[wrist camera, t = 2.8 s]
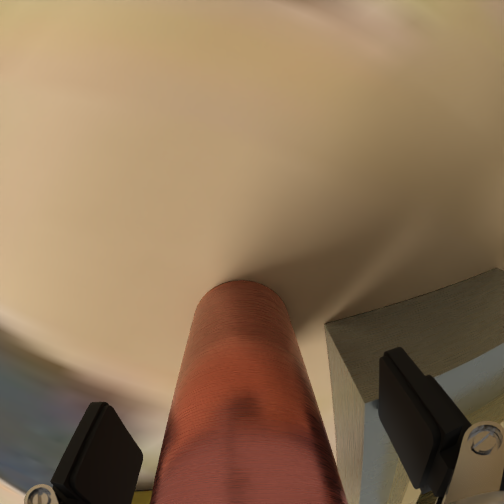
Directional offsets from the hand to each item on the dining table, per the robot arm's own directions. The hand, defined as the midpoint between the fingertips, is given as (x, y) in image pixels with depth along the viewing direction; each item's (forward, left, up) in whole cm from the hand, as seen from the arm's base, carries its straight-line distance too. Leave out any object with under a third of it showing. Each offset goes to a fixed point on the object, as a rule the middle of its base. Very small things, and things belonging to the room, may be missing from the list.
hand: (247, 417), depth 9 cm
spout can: (0, 0, -6) cm, 6 cm away
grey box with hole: (+9, +10, -6) cm, 14 cm away
